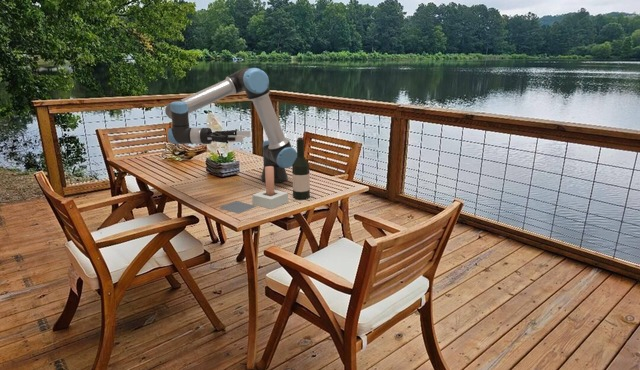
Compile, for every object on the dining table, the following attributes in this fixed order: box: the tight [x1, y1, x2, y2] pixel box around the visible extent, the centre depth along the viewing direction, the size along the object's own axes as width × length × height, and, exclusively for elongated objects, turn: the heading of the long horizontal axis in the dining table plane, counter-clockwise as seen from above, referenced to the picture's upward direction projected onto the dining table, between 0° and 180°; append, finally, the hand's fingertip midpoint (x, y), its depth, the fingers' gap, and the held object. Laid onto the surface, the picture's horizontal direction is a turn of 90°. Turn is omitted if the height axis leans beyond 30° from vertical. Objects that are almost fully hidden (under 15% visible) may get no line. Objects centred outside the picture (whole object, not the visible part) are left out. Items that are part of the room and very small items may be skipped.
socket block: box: [251, 189, 289, 210], centre depth 200 cm, size 12×12×5 cm
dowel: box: [265, 166, 275, 196], centre depth 198 cm, size 4×4×18 cm
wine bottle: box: [291, 136, 311, 201], centre depth 205 cm, size 8×8×30 cm
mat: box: [219, 200, 258, 215], centre depth 195 cm, size 14×12×1 cm
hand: (246, 136), depth 195 cm, fingers open, 13 cm apart
